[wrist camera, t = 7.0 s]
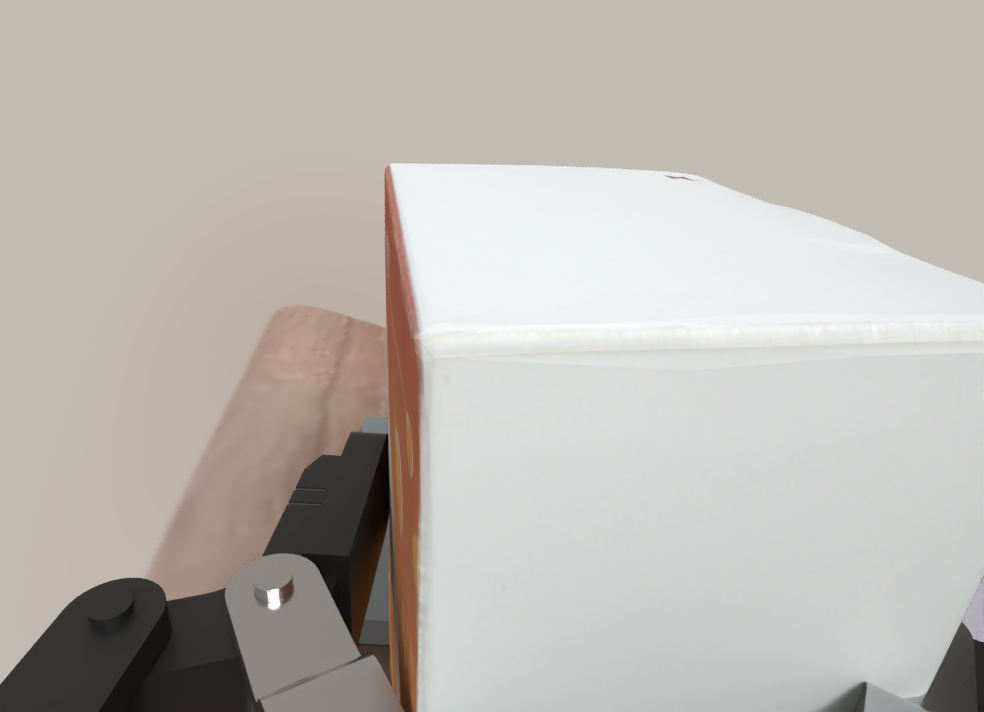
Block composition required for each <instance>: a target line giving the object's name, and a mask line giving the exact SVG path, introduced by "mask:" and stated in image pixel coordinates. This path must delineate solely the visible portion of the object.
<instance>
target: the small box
mask: <svg viewBox="0 0 984 712" xmlns="http://www.w3.org/2000/svg"><path fill="white" fill-rule="evenodd" d="M385 263H386V323H387V324H386V325H387V389H388V458H389V535H390V545H389V639H390V673H391V682H392V688H393V690H394V692H395V694H396V696H397V698H398V700H399V702H400V704H401V706H402V708H403V710H404V712H853V710H854V708H855V705H856V703H857V701H858V698H859V696H860V694H861V691H862V689H863V687H864V684H865V682H868V683H870V684H872V685H875V686H877V687H879V688H881V689H883V690H885V691H888V692H890V693H892V694H894V695H896V696H899V697H901V698H911V697H918V696H921V695H923V694H925V693H926V692H927V691H928V689H929V687H930V685H931V683H932V681H933V679H934V677H935V675H936V673H937V671H938V669H939V667H940V665H941V663H942V661H943V658H944V656H945V654H946V652H947V650H948V648H949V646H950V644H951V642H952V640H953V638H954V636H955V634H956V632H957V630H958V628H959V625H960V623H961V621H962V619H963V617H964V615H965V613H966V611H967V609H968V607H969V605H970V603H971V601H972V599H973V597H974V595H975V592H976V590H977V588H978V586H979V584H980V582H981V580H982V578H983V576H984V283H981V282H978V281H975V280H972V279H969V278H967V277H964V276H961V275H958V274H955V273H953V272H950V271H947V270H945V269H942V268H939V267H937V266H934V265H931V264H929V263H926V262H924V261H921V260H918V259H916V258H913V257H911V256H908V255H906V254H903V253H901V252H898V251H896V250H894V249H892V248H890V247H888V246H886V245H885V244H883V243H881V242H879V241H877V240H875V239H874V238H872V237H870V236H868V235H866V234H863V233H860V232H858V231H855V230H852V229H850V228H847V227H845V226H843V225H840V224H837V223H835V222H832V221H830V220H827V219H824V218H821V217H818V216H814V215H811V214H808V213H805V212H802V211H799V210H796V209H792V208H788V207H784V206H779V205H774V204H770V203H767V202H765V201H762V200H760V199H757V198H754V197H751V196H748V195H746V194H743V193H741V192H738V191H735V190H732V189H729V188H727V187H724V186H722V185H719V184H717V183H715V182H712V181H710V180H708V179H706V178H703V177H701V176H697V175H690V174H682V173H674V172H661V171H646V170H630V169H614V168H590V167H589V168H587V167H563V166H536V165H475V164H397V163H396V164H395V163H392V164H390V165H388V166H387V167H386V169H385Z"/></svg>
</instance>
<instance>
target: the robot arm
mask: <svg viewBox="0 0 984 712" xmlns="http://www.w3.org/2000/svg"><path fill="white" fill-rule="evenodd" d="M388 519H389V458H388V434H383V433H367V432H351V434H350V436H349V438H348V440H347V443H346V445H345V448H344V450H343V453H342V455H341V456H334V455H322V456H320V457H319V458H318V459H317V460H316V461H314V462H313V463H312V464H311V465H309V466H308V467H307V468H306V469H304V472H303V474H302V476H301V478H300V480H299V482H298V484H297V486H296V490H294V492H293V494H292V496H291V498H290V500H289V505H287V507H286V509H285V511H284V513H283V515H282V517H281V519H280V521H279V523H278V525H277V527H276V529H275V531H274V533H273V535H272V537H271V540H270V542H269V544H268V546H267V548H266V550H265V552H264V554H263V556H262V557H260V558H258V559H255V560H253V561H251V562H249V563H247V564H246V565H244V566H243V567H241V568H240V569H239V570H238V571H237V572H235V574H234V575H233V576H232V577H231V579H230V580H229V582H228V584H227V586H226V588H224V589H221V590H219V591H216V592H212V593H208V594H203V595H198V596H192V597H187V598H181V599H176V600H171V601H166V596H165V593H164V591H163V589H162V588H161V587H160V586H159V585H158V584H156V583H155V582H153V581H150V580H147V579H142V578H124V579H118V580H113V581H109V582H106V583H103V584H101V585H98V586H96V587H93V588H92V589H90V590H88V591H86V592H84V593H83V594H81V595H80V596H78V597H77V598H76V599H74V600H73V601H72V602H71V603H70V604H69V605H68V606H67V607H66V608H65V609H64V610H63V611H62V612H61V613H60V614H59V616H58V617H57V618H56V619H55V620H54V622H53V623H52V624H51V625H50V626H49V628H48V629H47V630H46V631H45V632H44V633H43V635H42V636H41V637H40V638H39V639H38V641H37V642H36V643H35V644H34V645H33V646H32V648H31V649H30V650H29V651H28V652H27V654H26V655H25V656H24V657H23V658H22V659H21V661H20V662H19V663H18V664H17V665H16V667H15V668H14V669H13V670H12V671H11V673H10V674H9V675H8V676H7V677H6V678H5V680H4V681H3V682H2V683H1V684H0V712H404V710H403V708H402V706H401V704H400V702H399V700H398V698H397V696H396V694H395V692H394V690H393V688H392V686H391V684H390V683H389V681H388V679H387V677H386V675H385V673H384V671H383V669H382V667H381V665H380V663H379V662H378V660H377V659H376V657H375V656H374V655H373V654H372V653H367V654H365V655H362V656H361V655H360V653H359V651H358V649H357V648H358V644H359V640H360V636H361V632H362V628H363V624H364V620H365V616H366V611H367V607H368V603H369V599H370V595H371V591H372V587H373V583H374V579H375V575H376V571H377V567H378V563H379V559H380V555H381V551H382V547H383V543H384V539H385V535H386V531H387V526H388ZM853 712H984V642H980V641H977V640H974V639H973V638H972V636H971V633H970V632H969V630H968V629H967V627H966V626H965V625H964V624H963V623H962V621H961V623H960V625H959V628H958V630H957V632H956V634H955V636H954V638H953V640H952V642H951V644H950V646H949V648H948V650H947V652H946V654H945V656H944V658H943V661H942V663H941V665H940V667H939V669H938V671H937V673H936V675H935V677H934V679H933V681H932V683H931V685H930V687H929V689H928V691H927V692H926V693H925V694H923V695H921V696H918V697H911V698H901V697H899V696H896V695H894V694H892V693H890V692H888V691H885V690H883V689H881V688H879V687H877V686H875V685H872V684H870V683H868V682H865V684H864V687H863V689H862V691H861V694H860V696H859V698H858V701H857V703H856V705H855V708H854V710H853Z"/></svg>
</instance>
